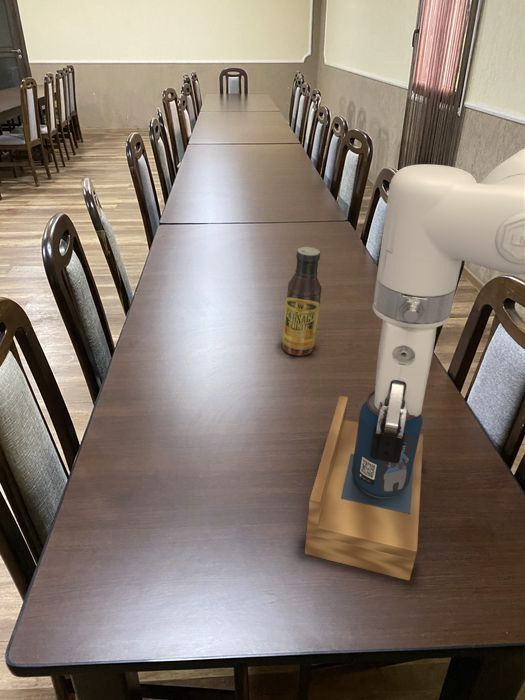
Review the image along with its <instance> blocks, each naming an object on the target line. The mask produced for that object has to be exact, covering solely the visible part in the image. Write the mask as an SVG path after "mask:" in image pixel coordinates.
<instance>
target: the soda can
mask: <svg viewBox="0 0 525 700" xmlns="http://www.w3.org/2000/svg"><path fill="white" fill-rule="evenodd" d="M374 400H375V390H373V391H371V392H370V393H369V395H368V396H367V399H366V401H364V403H363V404H362V405H361V406H360V410H359V417H358V430H357V437H356V444H355V450H354V457H353V464H352V474H353V477H354V479H355V481H356V483H357V484H358V486H359V487H360V488H361V489H362V490H363V491H364V492H365V493H367V494H368V495H370V496H373V497H376V498H391V497H394V496H396V495H397V494H399V493H401V492H402V491H403V490H404V489H405V488H406V487H407V486H408V484H409V482H410V477H411V473H412V468H413V463H414V459H415V454H416V450H417V445H418V441H419V436H420V435H421V431H422V426H423V422H424V421H423V416H422V413H421V414H420V415H419V416H417V417H416V416H414V415H409V413H408V410H407V414H406V420H405V426H404V433H405V437H404V442H403V447H402V452H401V457H400V461H399V463H392V462H387V461H382V460H377V459H373V458H371V457H370V451H371V445H372V439H373V433H374V427H377V423H378V418H379V412H380V408H379V409H377V408H376V406H375V405H374ZM404 402H405V401H404ZM404 402H402V405H401V407H404ZM384 404H389V399H385V403H384ZM386 417H387V411H385V412H384V418H383V421H386ZM400 417H401V414H400ZM400 417H399V423H400Z"/></svg>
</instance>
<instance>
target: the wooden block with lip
mask: <svg viewBox="0 0 525 700" xmlns="http://www.w3.org/2000/svg"><path fill="white" fill-rule="evenodd" d="M348 402H349V397H348V396H344V395H339V396H338V400H337V403H336V406H335V410H334V413H333V417H332V420H331V424H330V428H329V431H328V434H327V438H326V441H325V444H324V448H323V451H322V455H321V459H320V462H319V466H318V469H317V473H316V475H315V479H314V483H313V486H312V490H311V493H310V497H309V500H308V501H309V503H308V512H307V513H308V514H307V524H306V533H305V535H306V536H305V544H304V545H305V546H304V555H307V556H312V557H315V558H319V559H322V560H327V561H331V562H334V563H339V564H343V565H345V566H346V565H347V566H350V567H354V568H358V569H362V570H366V571H369V572H374V573H378V574H382V575H385V576H389V577H393V578H397V579H402V580H405V581H410V580H411V576H412V573H413V569H414V564H415V560H416V557H417V553H418V541H419V522H420V521H419V520H420V519H419V518H420V504H421V503H420V502H421V483H422V465H423V448H424V446H423V445H424V435H423V434H420V436H419V441H418V445H417V450H416V454H415V459H414V463H413V468H412V473H411V477H410V482H409V484H408V486H407V487H406V488H405V489H404V490H403V491H402V492H401V493H399V494H397V495H396V496H394V497H391V498H376V497H373V496H370V495H368V494H367V493H365V492H364V491H363V490H362V489H361V488H360V487H359V486H358V484H357V483H356V481H355V479H354V477H353V474H352V464H353V457H354V450H355V444H356V437H357V430H358V423H359V421H352V420H347V419H346V417H347V409H348Z"/></svg>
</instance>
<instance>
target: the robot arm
mask: <svg viewBox="0 0 525 700" xmlns="http://www.w3.org/2000/svg"><path fill="white" fill-rule="evenodd" d="M384 215H385V216H384V223H383V229H382V235H381V236H382V237H381V243H380V253H379V258H378V266H377V273H376V279H375V286H374V292H373V293H374V294H373V300H372V301H373V302H372V311H373V313H374V314H375V315H376V316H377V317H378V318H379V319H381V320H382V323H381V330H380V336H379V343H378V344H379V345H378V352H377V362H376V370H375V371H376V372H375V383H374V391H375V400H374V405H375V406H376V408H377V409H379V408H380V412H379V418H378V423H377V427H374V433H373V439H372V445H371V451H370V457H371V458H373V459H377V460H382V461H387V462H392V463H399V461H400V457H401V452H402V447H403V442H404V437H405V433H404V426H405V420H406V414H407V410H408V413H409V415H414V416H416V417H417V416H419V415H420V414H421V415H422V411H423V407H424V400H425V394H426V389H427V384H428V379H429V375H430V369H431V364H432V359H433V355H434V348H435V342H436V337H437V336H436V335H437V329H438V328H439V327H441V326H444V325H445V324H447V322H449V320H450V318H451V312H452V307H453V303H454V299H455V295H456V291H457V285H458V281H459V276H460V272H461V268H462V263H463V262H465V263H466V262H467V263H470V264H473V265H476V266H479V267H483V268H486V269H489V270H493V271H495V272H499V273H504V274H508V275H509V274H510V275H525V147H524V148H522V149H521V150H519V151H518V152H516V153H515V154H513V155H511V156H510V157H508V158H507V159H505V160H504V161H502V162H501V163H500V164H498V165H497V166H496V167H495V168H493V169H492V170H491V171H490V172H489V173H488V174H487V175H486V176H485V177H484V179H482V181H481V182H480V183H479V182H477V180H476V178H475V177H474V176H473V175H472V174H471V173H470V172H468V171H466V170H464V169H461V168H458V167H454V166H450V165H442V164H433V163H432V164H431V163H427V164H425V163H423V164H412V165H408V166H407V165H406V166H405V167H402V168H400V169H399V170H397V171H396V172H395V173H394V174H393V176H392V177H391V180H390V183H389V188H388V196H387V201H386V209H385V214H384ZM385 399H389V404H384V403H385ZM404 401H405V402H404ZM402 402H404V407H401V405H402ZM385 411H387V417H386V421H383V418H384V412H385ZM400 414H401V417H400ZM399 417H400V423H399Z"/></svg>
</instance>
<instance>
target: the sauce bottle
mask: <svg viewBox="0 0 525 700" xmlns="http://www.w3.org/2000/svg"><path fill="white" fill-rule="evenodd" d="M295 258H296V267H295V273H294V274H293V276H292V277H291V279H290V280H289V281H288V283H287V293H286V298H285V305H284V306H285V307H284V320H283V327H282V339H281V340H282V344H281V345H282V350H283V351H284V352H286V353H287V354H289V355H292V356H295V357H302V356H304V357H305V356H308V355H310V354H311V353H312V352H313V351H314V348H315V345H316V340H317V330H318V324H319V315H320V309H321V307H320V306H321V296H322V290H323V289H322V288H323V287H322V285H321V282H320V280H319V279H318V268H319V261H320V259H321V251H320V249H318V248H316V247H311V246H302V247H298V248H297V249H296V255H295Z"/></svg>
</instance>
